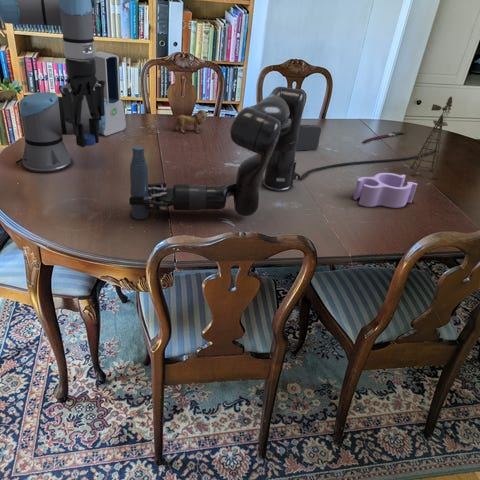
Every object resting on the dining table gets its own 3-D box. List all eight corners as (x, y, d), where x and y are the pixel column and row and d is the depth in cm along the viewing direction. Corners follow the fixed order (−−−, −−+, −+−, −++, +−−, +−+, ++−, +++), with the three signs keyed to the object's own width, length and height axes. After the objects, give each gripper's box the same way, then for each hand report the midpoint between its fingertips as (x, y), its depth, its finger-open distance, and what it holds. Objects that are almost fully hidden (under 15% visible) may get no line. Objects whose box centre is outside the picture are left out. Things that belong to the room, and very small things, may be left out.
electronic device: (104, 136, 184) (98, 57, 168) (90, 131, 187) (84, 53, 171) (126, 129, 193) (123, 53, 177) (113, 124, 196) (109, 49, 180)
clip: (365, 210, 152) (371, 191, 148) (346, 193, 162) (351, 174, 158) (416, 205, 158) (422, 187, 155) (395, 189, 168) (400, 171, 164)
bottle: (141, 221, 134) (139, 152, 123) (128, 215, 136) (125, 147, 125) (152, 214, 138) (151, 147, 126) (139, 209, 140) (137, 142, 128)
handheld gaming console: (315, 147, 196) (319, 124, 190) (317, 149, 194) (322, 126, 188) (264, 149, 189) (267, 125, 183) (266, 152, 187) (269, 127, 181)
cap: (91, 139, 136) (90, 132, 135) (98, 144, 133) (97, 137, 132) (77, 142, 133) (76, 134, 132) (84, 146, 131) (83, 139, 130)
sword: (401, 131, 224) (402, 128, 223) (406, 133, 222) (407, 131, 221) (358, 142, 208) (358, 140, 207) (363, 145, 206) (363, 142, 205)
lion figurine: (203, 128, 203) (204, 107, 198) (207, 132, 199) (208, 111, 194) (170, 129, 198) (170, 108, 193) (173, 133, 194) (173, 112, 189)
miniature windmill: (435, 179, 179) (462, 101, 163) (413, 175, 180) (438, 97, 164) (432, 170, 187) (457, 94, 170) (410, 166, 188) (434, 91, 171)
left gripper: (61, 65, 113) (71, 155, 126) (115, 57, 125) (119, 140, 138) (42, 59, 116) (53, 147, 129) (96, 51, 129) (102, 133, 141)
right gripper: (189, 174, 140) (130, 173, 137) (191, 197, 128) (128, 196, 125) (188, 197, 144) (131, 196, 141) (190, 220, 132) (129, 220, 129)
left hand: (87, 143), depth 133 cm, fingers closed on cap, 4 cm apart
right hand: (130, 196), depth 133 cm, fingers closed on bottle, 5 cm apart
